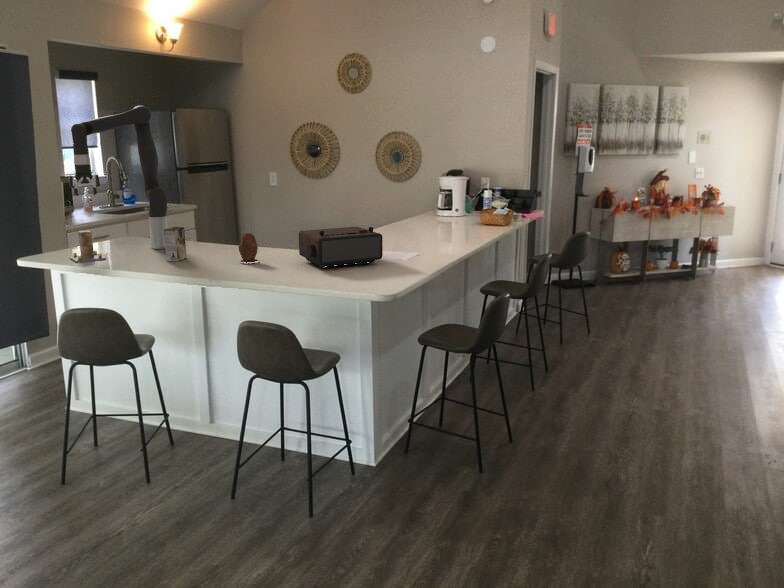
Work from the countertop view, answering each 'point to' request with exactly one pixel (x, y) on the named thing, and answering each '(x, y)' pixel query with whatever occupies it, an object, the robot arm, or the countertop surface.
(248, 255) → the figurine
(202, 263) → the countertop surface
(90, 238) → the walnut block
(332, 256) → the radio receiver
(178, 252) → the coffee box
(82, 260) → the dock
